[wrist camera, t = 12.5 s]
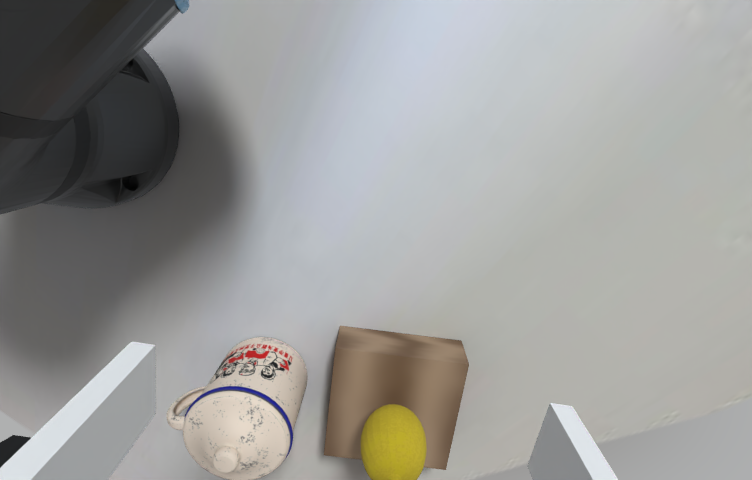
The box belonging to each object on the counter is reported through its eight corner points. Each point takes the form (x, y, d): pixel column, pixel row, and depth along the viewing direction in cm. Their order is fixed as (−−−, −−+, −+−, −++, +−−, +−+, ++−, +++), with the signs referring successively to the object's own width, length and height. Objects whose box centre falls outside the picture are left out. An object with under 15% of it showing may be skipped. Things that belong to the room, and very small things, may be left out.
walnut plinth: (329, 425, 45) (323, 455, 41) (340, 325, 41) (335, 348, 37) (440, 438, 45) (445, 469, 41) (461, 340, 41) (468, 364, 37)
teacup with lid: (304, 330, 41) (274, 412, 30) (315, 407, 44) (291, 508, 33) (186, 337, 42) (113, 419, 31) (204, 412, 44) (142, 513, 33)
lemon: (390, 445, 40) (392, 523, 32) (350, 409, 39) (342, 481, 31) (434, 413, 39) (446, 486, 31) (394, 375, 38) (397, 442, 30)
